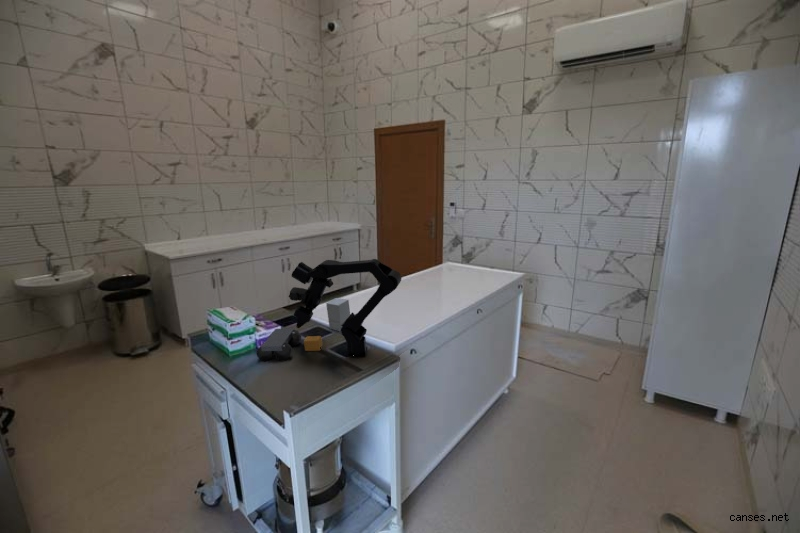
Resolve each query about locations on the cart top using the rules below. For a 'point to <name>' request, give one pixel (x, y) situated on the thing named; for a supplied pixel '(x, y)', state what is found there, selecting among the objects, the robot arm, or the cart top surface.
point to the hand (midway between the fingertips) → (301, 321)
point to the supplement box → (337, 312)
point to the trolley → (279, 344)
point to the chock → (312, 343)
